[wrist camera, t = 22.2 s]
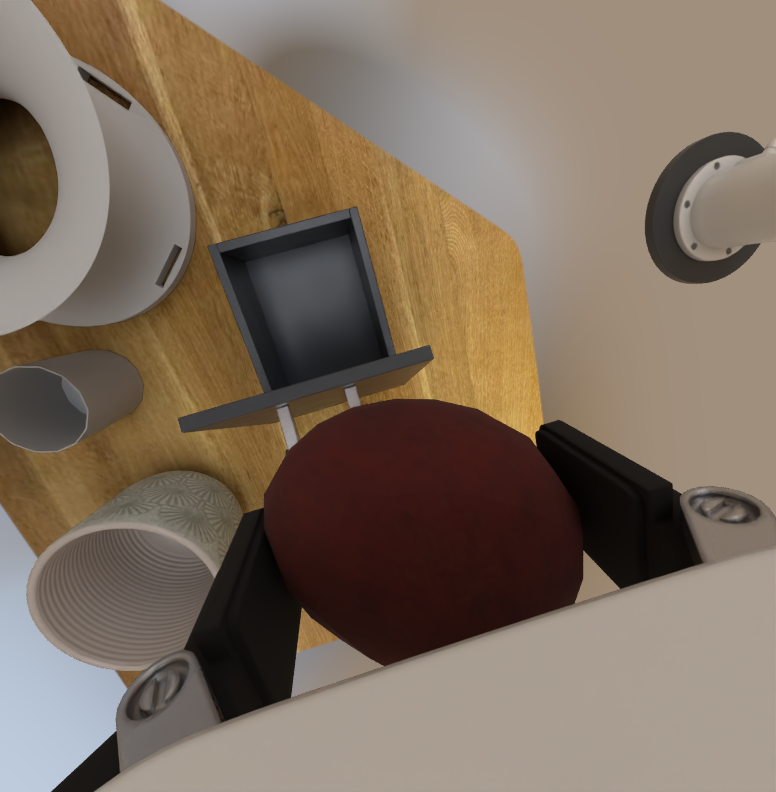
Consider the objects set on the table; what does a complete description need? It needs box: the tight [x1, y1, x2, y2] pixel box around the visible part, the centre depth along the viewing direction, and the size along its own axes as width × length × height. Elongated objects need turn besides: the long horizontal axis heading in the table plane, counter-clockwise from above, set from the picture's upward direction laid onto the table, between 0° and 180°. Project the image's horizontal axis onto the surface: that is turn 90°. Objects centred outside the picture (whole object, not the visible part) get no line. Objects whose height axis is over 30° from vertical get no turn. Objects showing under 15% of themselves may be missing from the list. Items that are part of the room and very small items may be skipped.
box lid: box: [178, 345, 434, 455], centre depth 27 cm, size 17×14×5 cm
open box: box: [207, 207, 396, 393], centre depth 39 cm, size 17×14×10 cm
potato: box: [264, 399, 583, 666], centre depth 10 cm, size 7×8×7 cm
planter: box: [27, 471, 243, 671], centre depth 41 cm, size 17×17×15 cm
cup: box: [0, 350, 144, 452], centre depth 37 cm, size 8×8×10 cm
